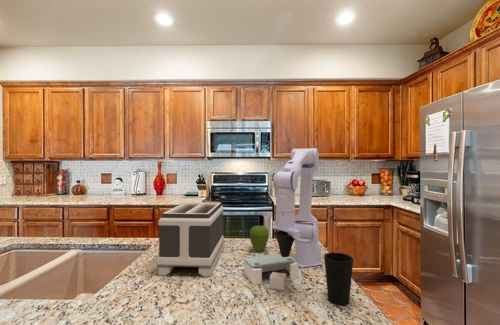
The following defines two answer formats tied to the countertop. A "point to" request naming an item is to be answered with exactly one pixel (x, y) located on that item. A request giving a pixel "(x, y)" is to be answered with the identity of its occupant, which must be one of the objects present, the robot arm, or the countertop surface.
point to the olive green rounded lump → (259, 237)
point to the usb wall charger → (279, 281)
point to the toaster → (191, 237)
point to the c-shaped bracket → (256, 272)
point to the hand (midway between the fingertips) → (285, 256)
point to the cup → (338, 277)
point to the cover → (268, 260)
